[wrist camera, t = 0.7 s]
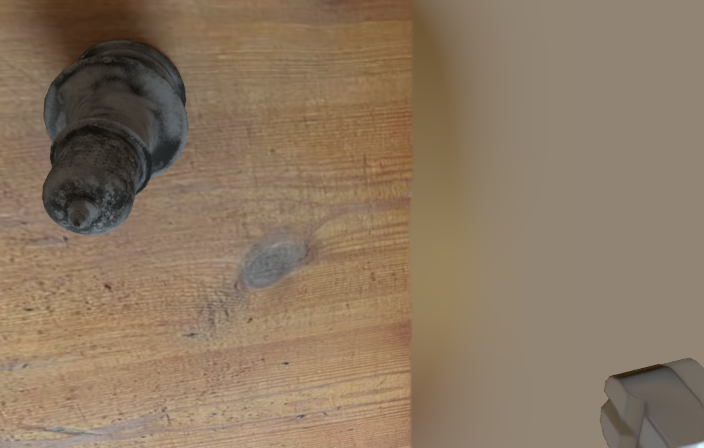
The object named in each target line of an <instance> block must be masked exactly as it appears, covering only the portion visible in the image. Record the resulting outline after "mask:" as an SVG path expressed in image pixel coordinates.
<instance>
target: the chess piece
mask: <svg viewBox="0 0 704 448" xmlns="http://www.w3.org/2000/svg"><path fill="white" fill-rule="evenodd" d="M185 103H186V97H185V87H184V85H183V82H182V80H181V77H180V75H179V73H178V71H177V70H176V69H175V67H174V66H173V64H172V63H171V62H170V61H169V60H168V59H167V58H166V57H164V56H163V55H162V54H161V53H160V52H159V51H157V50H155V49H153V48H151V47H149V46H147V45H145V44H143V43H139V42H135V41H131V40H111V41H107V42H103V43H99V44H97V45H95V46H94V47H92V48H90V49H89V50H87V51H85V53H84V54H83V55H82V56H81V57H80V58H79V59H78V61H77V62H75V63H73V64H72V65H70V66H68V67H67V68H65V69H63V70H62V72H61V73H60V74H59V75H58V76H57V77H56V79H55V80H54V81H53V82H52V83H51V85H50V88H49V90H48V92H47V95H46V97H45V102H44V121H45V125H46V129H47V133H48V135H49V137H50V139H51V141H52V142H53V144H52V146H51V153H50V160H51V164H52V169H51V171H50V172H49V174H48V176H47V178H46V180H45V182H44V185H43V194H42V200H43V204H44V208H45V210H46V211H47V213H48V214H49V216H50V217H51V218H52V219H53V220H54V221H55V222H56V223H57V224H58V225H60V226H62V227H63V228H65V229H66V230H69V231H72V232H75V233H77V234H84V235H100V234H104V233H107V232H110V231H112V230H114V229H116V228H118V227H119V226H120V225H121V224H122V223H123V222H124V221H125V220H126V218H127V217H128V215H129V213H130V211H131V210H132V206H133V202H134V198H135V195H137V194H139V193H140V192H141V191H142V190H143V189H144V188H145V187H146V185H147V183H148V181H149V180H150V179H152V178H154V177H156V176H158V175H160V174H161V173H163V172H165V171H167V170H168V169H169V168H170V167H171V166H172V165H173V164H174V163H175V162H176V161H177V160H178V158H179V156H180V154H181V152H182V151H183V149H184V147H185V144H186V139H187V134H188V121H187V112H186V110H185Z"/></svg>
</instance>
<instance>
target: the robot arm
mask: <svg viewBox="0 0 704 448" xmlns="http://www.w3.org/2000/svg"><path fill="white" fill-rule="evenodd" d="M604 392H605V393H606V395H607V396H608V398H609V400H608V401H607V402H606V403H605V404H604V405H603V406H602V407H601V415H600V423H601V427H602V432H603V436H604V438H605V440H606V442H607V445H608V447H609V448H704V368H703V367H702V366H701V365H700V364H699V363H698V362H697V361H695V360H693V359H691V358H686V359H681V360H677V361H673V362H669V363H665V364H661V365H660V364H657V365H653V366H649V367H645V368H641V369H637V370H633V371H629V372H625V373H621V374H617V375H612V376H609V378H608V379H607V380H606V381H605V387H604Z"/></svg>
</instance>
